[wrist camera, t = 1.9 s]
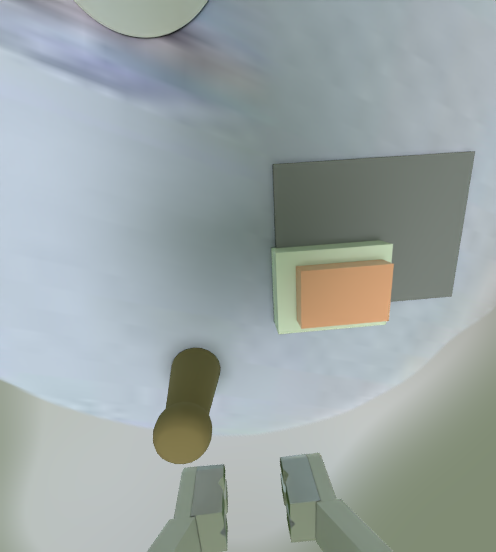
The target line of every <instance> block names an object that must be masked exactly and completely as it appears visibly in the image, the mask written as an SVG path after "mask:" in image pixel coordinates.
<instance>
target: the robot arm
mask: <svg viewBox="0 0 496 552" xmlns="http://www.w3.org/2000/svg"><path fill="white" fill-rule="evenodd" d="M74 1H75V2H76V3H77V4H78V5H79V6H80V7H81V8H82V9H83V10H84V11H85V12H86V13H87V14H88V15H89V16H91V17H92V18H93V19H95V20H96V21H97V22H99V23H100V24H102V25H104V26H105V27H107V28H109V29H111V30H114V31H116V32H119V33H121V34H125V35H129V36H134V37H157V36H162V35H166V34H169V33H171V32H174V31H176V30H178V29H179V28H181V27H183V26H184V25H186V24H187V23H188V22H190V21H191V20H192V19H193V18H194V17H195V16H196V15H197V14H198V13H199V12H200V11H201V9H202V8H203V7H204V5H205V4H206V3H207V1H208V0H74ZM280 467H281V485H282V493H283V499H284V505H285V506H286V509H287V521H288V528H289V533H290V538H291V542H303V541H313V540H316V542H317V544H318V545H319V547H320V548H321V549H322V551H323V552H394V551H393V550H392V549H391V548H390V547H389V546H388V545H387V544H386V543H385V542H384V541H383V540H382V539H381V538H380V537H379V536H378V535H377V534H376V533H375V532H374V531H373V530H372V529H371V528H370V527H369V526H368V525H367V524H366V523H364V522H363V520H362V519H361V518H360V517H358V515H357V514H356V513H355V512H354V511H353V510H352V509H350V507H348V506H347V505H346V504H345V503H344V502H343V501H342V500H341V499H336V496H335V493H334V490H333V487H332V485H331V482H330V479H329V476H328V474H327V471H326V468H325V465H324V462H323V460H322V457H321V455H320V454H319V453H314V454H302V455H294V456H287V457H281V458H280ZM227 512H228V496H227V481H226V479H225V466H224V464H223V465H210V466H198V467H188V468H184V469H183V472H182V475H181V481H180V487H179V492H178V498H177V503H176V509H175V514H174V519H171V520H169V521H168V523H167V524H166V525H165V527H164V528H163V530H162V531H161V533H160V534H159V535H158V537H157V538H156V540H155V541H154V543H153V544H152V545H151V547H150V549H149V550H148V551H147V552H222V551H227V532H228V530H227V529H228V526H227V518H226V514H227Z"/></svg>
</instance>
